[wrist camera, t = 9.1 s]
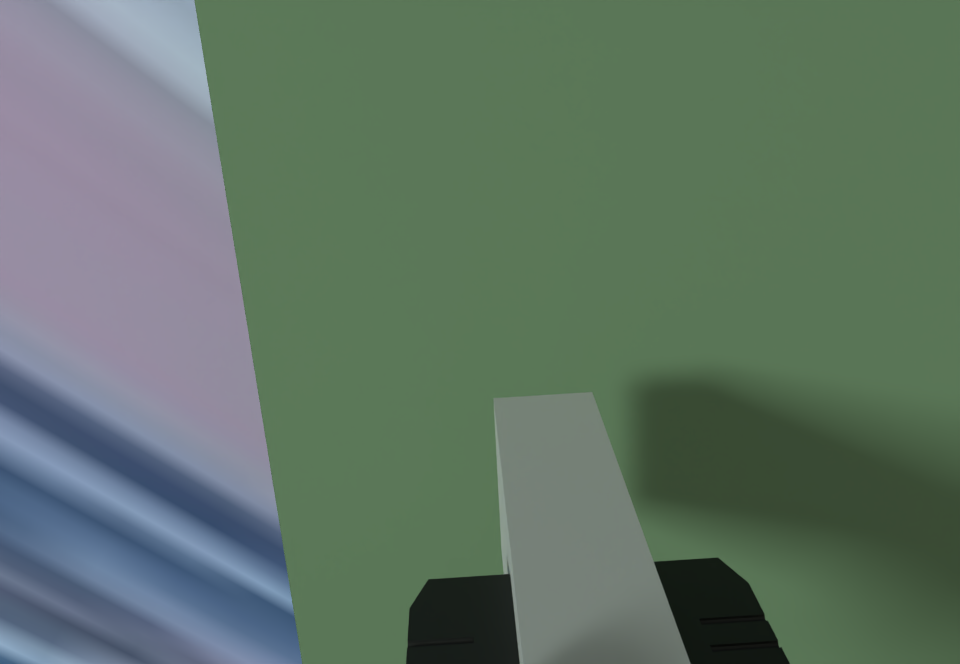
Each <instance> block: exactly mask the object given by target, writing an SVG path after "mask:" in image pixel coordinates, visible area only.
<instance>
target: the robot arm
mask: <svg viewBox="0 0 960 664" xmlns="http://www.w3.org/2000/svg"><path fill="white" fill-rule="evenodd" d="M493 399H494V418H495V437H496V456H497V475H498V494H499V513H500V532H501V551H502V561H503V571H504V574H501V575H486V576H470V577H455V578H440V579H428V581H427V582H426V584H425V585H424V587H423V588H422V590H421V591H420V593H419V594H418V596H417V597H416V599H415V601H414V602H413V604H412V605H411V607H410V608H409V624H408V640H407V642H408V648H407V656H406V664H790V663H789V661H788V659H787V657H786V655H785V653H784V651H783V649H782V647H779V645H778V639H777V637H776V635H775V633H774V631H773V630H772V628H771V626H770V624H769V622H768V621H766V620H765V614H764V612H763V610H762V608H761V606H760V604H759V602H758V600H757V598H756V596H755V594H754V592H753V590H752V588H751V586H750V584H749V583H748V582H747V581H746V580H745V579H743V578H742V577H741V576H740V575H739V574H737V573H736V572H735V571H734V570H733V569H731V568H730V567H729V566H728V565H727V564H725V563H724V562H723V561H722V560H721V559H719V558H718V557H717V558H702V559H686V560H671V561H656V562H654V561H653V559H652V556H651V553H650V550H649V548H648V545H647V542H646V539H645V537H644V534H643V531H642V528H641V526H640V523H639V520H638V517H637V515H636V512H635V509H634V506H633V504H632V501H631V498H630V495H629V492H628V490H627V487H626V484H625V481H624V479H623V476H622V473H621V470H620V468H619V465H618V462H617V459H616V457H615V454H614V451H613V448H612V446H611V443H610V440H609V437H608V435H607V432H606V429H605V426H604V423H603V421H602V418H601V415H600V412H599V410H598V407H597V404H596V401H595V399H594V396H593V393H592V392H585V393H569V394H553V395H537V396H521V397H506V398H493Z"/></svg>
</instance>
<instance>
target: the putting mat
mask: <svg viewBox="0 0 960 664" xmlns="http://www.w3.org/2000/svg"><path fill="white" fill-rule="evenodd" d="M195 6H196V12H197V19H198V25H199V31H200V37H201V43H202V49H203V56H204V62H205V68H206V74H207V80H208V86H209V92H210V99H211V105H212V111H213V117H214V123H215V129H216V135H217V142H218V148H219V154H220V160H221V166H222V172H223V179H224V185H225V191H226V197H227V203H228V209H229V215H230V222H231V228H232V234H233V240H234V246H235V252H236V258H237V265H238V271H239V277H240V283H241V289H242V295H243V301H244V308H245V314H246V320H247V326H248V332H249V338H250V345H251V351H252V357H253V363H254V369H255V375H256V381H257V388H258V394H259V400H260V406H261V412H262V418H263V424H264V431H265V437H266V443H267V449H268V455H269V461H270V468H271V474H272V480H273V486H274V492H275V498H276V504H277V511H278V517H279V523H280V529H281V535H282V541H283V547H284V554H285V560H286V566H287V572H288V578H289V584H290V591H291V597H292V603H293V609H294V615H295V621H296V627H297V634H298V640H299V646H300V652H301V658H302V664H406V656H407V648H408V642H407V640H408V624H409V608H410V607H411V605H412V604H413V602H414V601H415V599H416V597H417V596H418V594H419V593H420V591H421V590H422V588H423V587H424V585H425V584H426V582H427V581H428V579H440V578H455V577H470V576H486V575H501V574H504V571H503V561H502V551H501V532H500V513H499V494H498V475H497V456H496V437H495V418H494V399H493V398H506V397H521V396H537V395H553V394H569V393H585V392H592V393H593V396H594V399H595V401H596V404H597V407H598V410H599V412H600V415H601V418H602V421H603V423H604V426H605V429H606V432H607V435H608V437H609V440H610V443H611V446H612V448H613V451H614V454H615V457H616V459H617V462H618V465H619V468H620V470H621V473H622V476H623V479H624V481H625V484H626V487H627V490H628V492H629V495H630V498H631V501H632V504H633V506H634V509H635V512H636V515H637V517H638V520H639V523H640V526H641V528H642V531H643V534H644V537H645V539H646V542H647V545H648V548H649V550H650V553H651V556H652V559H653V561H654V562H656V561H671V560H686V559H702V558H717V557H718V558H719V559H721V560H722V561H723V562H724V563H725V564H727V565H728V566H729V567H730V568H731V569H733V570H734V571H735V572H736V573H737V574H739V575H740V576H741V577H742V578H743V579H745V580H746V581H747V582H748V583H749V584H750V586H751V588H752V590H753V592H754V594H755V596H756V598H757V600H758V602H759V604H760V606H761V608H762V610H763V612H764V614H765V620H766V621H768V622H769V624H770V626H771V628H772V630H773V631H774V633H775V635H776V637H777V639H778V645H779V647H782V649H783V651H784V653H785V655H786V657H787V659H788V661H789V663H790V664H960V0H195Z"/></svg>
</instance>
